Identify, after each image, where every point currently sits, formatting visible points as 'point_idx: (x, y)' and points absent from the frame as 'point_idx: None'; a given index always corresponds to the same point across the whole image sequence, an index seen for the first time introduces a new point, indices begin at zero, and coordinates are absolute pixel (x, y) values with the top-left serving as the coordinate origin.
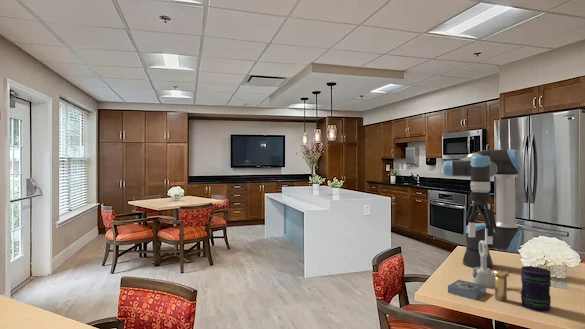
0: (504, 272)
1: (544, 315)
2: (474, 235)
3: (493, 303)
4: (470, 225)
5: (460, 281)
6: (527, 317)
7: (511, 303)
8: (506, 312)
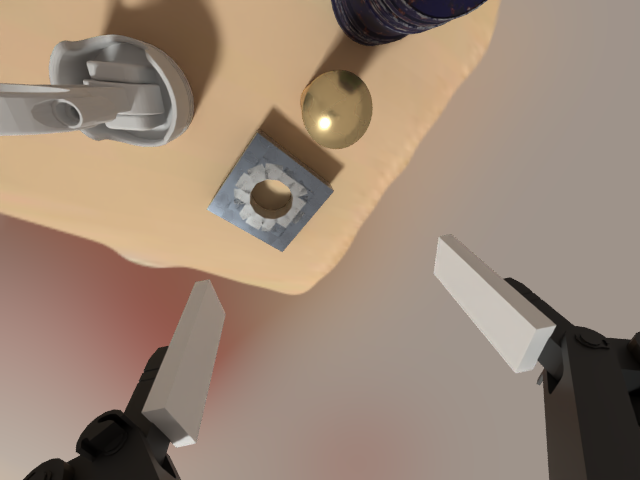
0: (353, 101)
1: None
2: (208, 294)
3: None
4: (198, 403)
5: (227, 208)
6: (448, 83)
7: None
8: (412, 131)
